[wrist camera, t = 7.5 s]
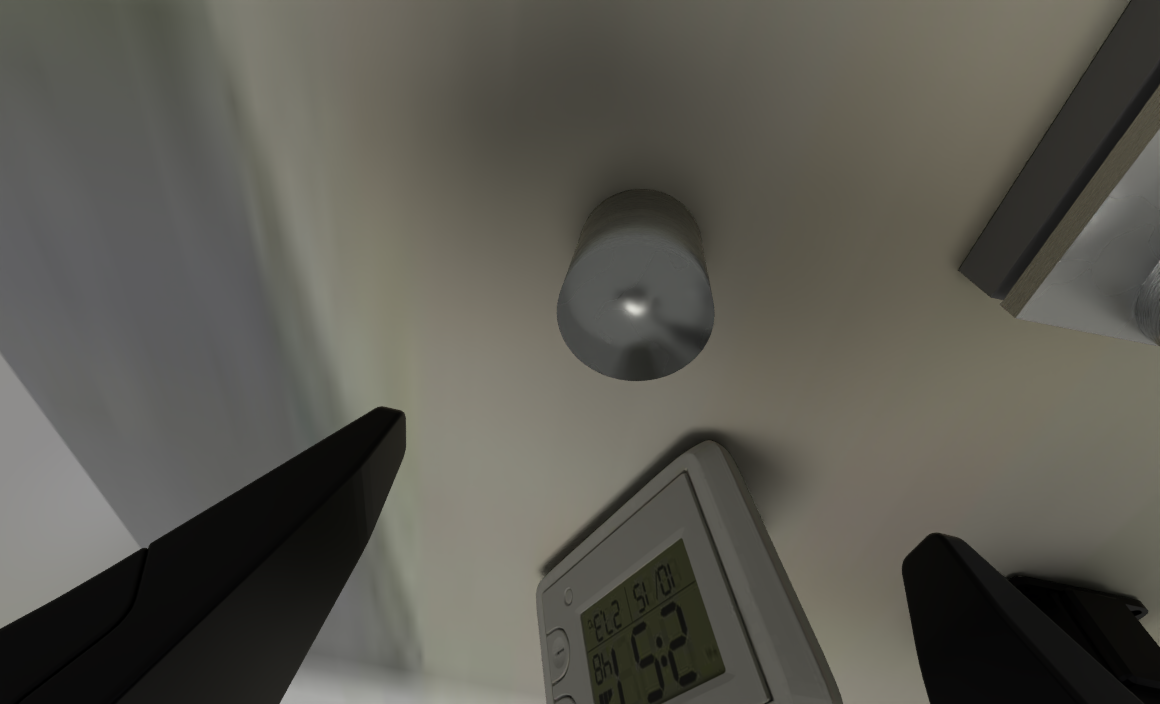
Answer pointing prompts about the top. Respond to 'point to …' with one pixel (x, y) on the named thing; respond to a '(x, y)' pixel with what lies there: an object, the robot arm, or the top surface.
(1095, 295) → the platform
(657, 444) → the top surface
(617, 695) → the digital clock
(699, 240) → the cylinder
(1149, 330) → the cylinder
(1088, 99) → the scale base
